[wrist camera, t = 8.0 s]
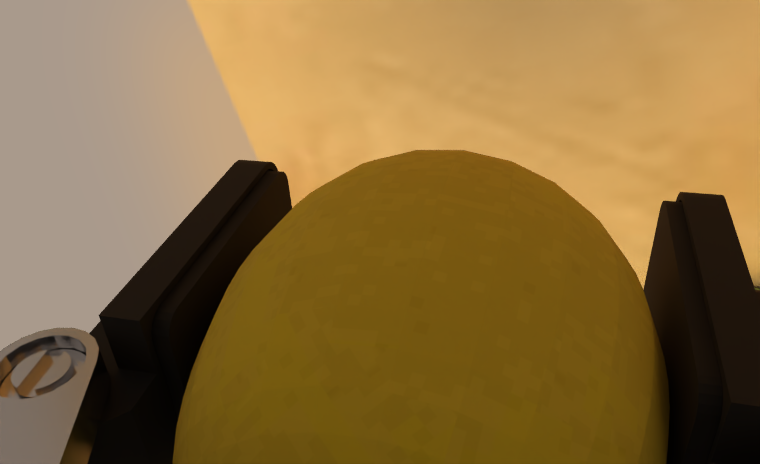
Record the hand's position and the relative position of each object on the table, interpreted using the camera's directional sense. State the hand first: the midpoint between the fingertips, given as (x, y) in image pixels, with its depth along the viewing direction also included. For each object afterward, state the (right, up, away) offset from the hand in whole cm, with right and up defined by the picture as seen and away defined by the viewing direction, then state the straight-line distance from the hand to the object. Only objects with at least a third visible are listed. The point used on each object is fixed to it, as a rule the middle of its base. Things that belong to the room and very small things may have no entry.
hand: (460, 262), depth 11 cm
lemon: (0, +1, +1) cm, 1 cm away
